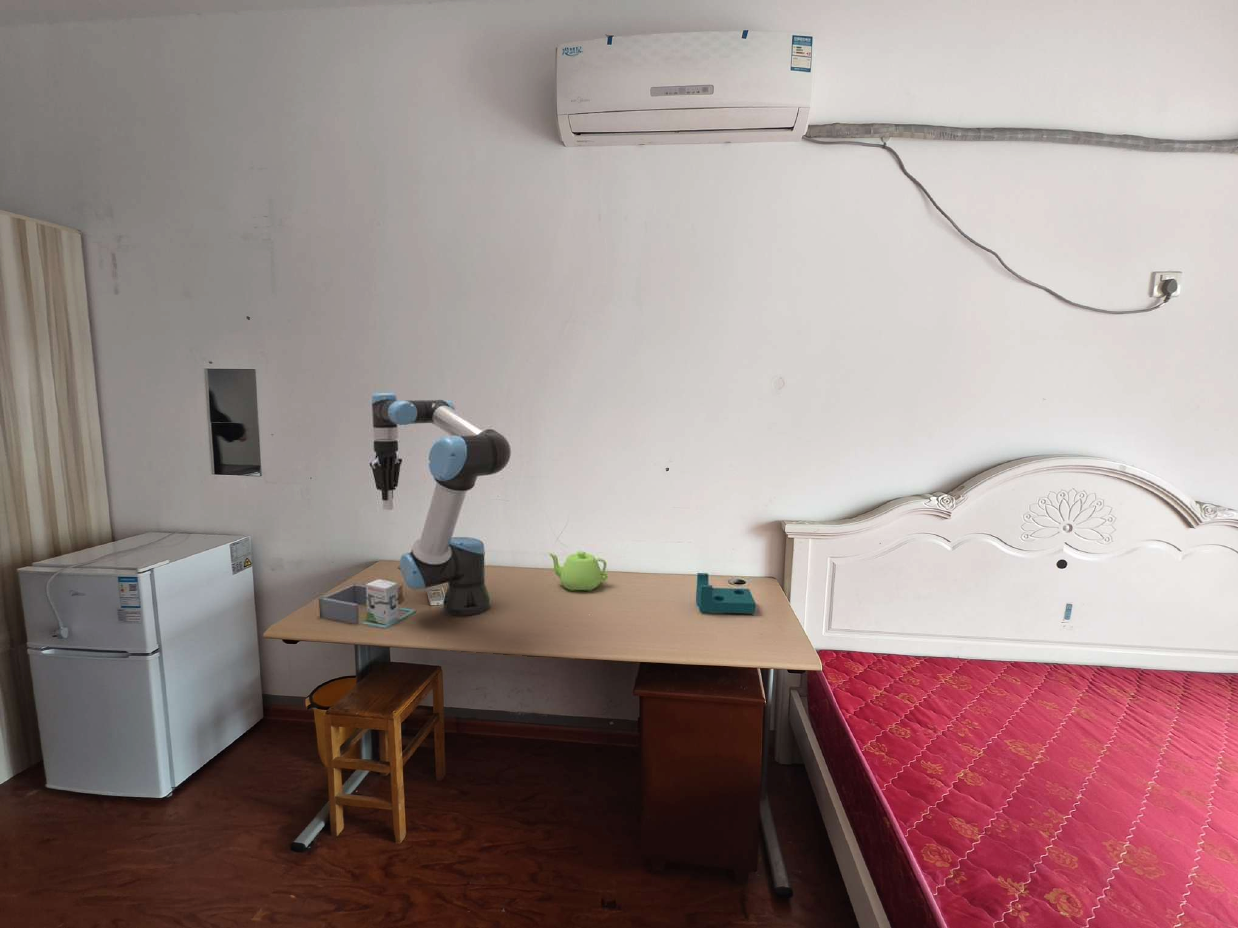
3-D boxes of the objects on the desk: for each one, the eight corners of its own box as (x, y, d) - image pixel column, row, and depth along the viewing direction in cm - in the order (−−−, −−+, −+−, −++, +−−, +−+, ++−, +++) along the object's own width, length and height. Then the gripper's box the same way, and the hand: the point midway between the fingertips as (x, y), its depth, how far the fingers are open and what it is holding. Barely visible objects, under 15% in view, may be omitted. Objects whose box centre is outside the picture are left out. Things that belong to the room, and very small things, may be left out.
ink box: (365, 620, 176) (364, 583, 175) (378, 614, 181) (376, 578, 179) (387, 625, 173) (386, 587, 172) (399, 619, 178) (398, 582, 176)
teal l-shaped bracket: (699, 616, 187) (701, 586, 185) (695, 600, 198) (697, 572, 195) (754, 617, 187) (757, 588, 185) (747, 602, 198) (749, 574, 195)
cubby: (389, 607, 187) (388, 589, 186) (355, 624, 173) (355, 605, 172) (355, 600, 191) (354, 583, 190) (319, 616, 178) (318, 598, 177)
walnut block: (402, 598, 194) (402, 584, 194) (396, 604, 190) (395, 589, 189) (388, 597, 195) (388, 583, 194) (381, 603, 190) (380, 589, 189)
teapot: (545, 593, 202) (545, 557, 200) (549, 579, 217) (549, 545, 215) (607, 594, 203) (608, 558, 201) (607, 579, 218) (608, 546, 216)
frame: (415, 611, 184) (415, 610, 184) (384, 628, 171) (384, 627, 171) (394, 607, 186) (394, 606, 186) (362, 624, 173) (362, 622, 173)
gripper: (390, 437, 197) (392, 504, 200) (361, 440, 185) (364, 512, 188) (408, 438, 194) (410, 506, 198) (380, 442, 182) (383, 514, 186)
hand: (388, 509), depth 193 cm, fingers closed
